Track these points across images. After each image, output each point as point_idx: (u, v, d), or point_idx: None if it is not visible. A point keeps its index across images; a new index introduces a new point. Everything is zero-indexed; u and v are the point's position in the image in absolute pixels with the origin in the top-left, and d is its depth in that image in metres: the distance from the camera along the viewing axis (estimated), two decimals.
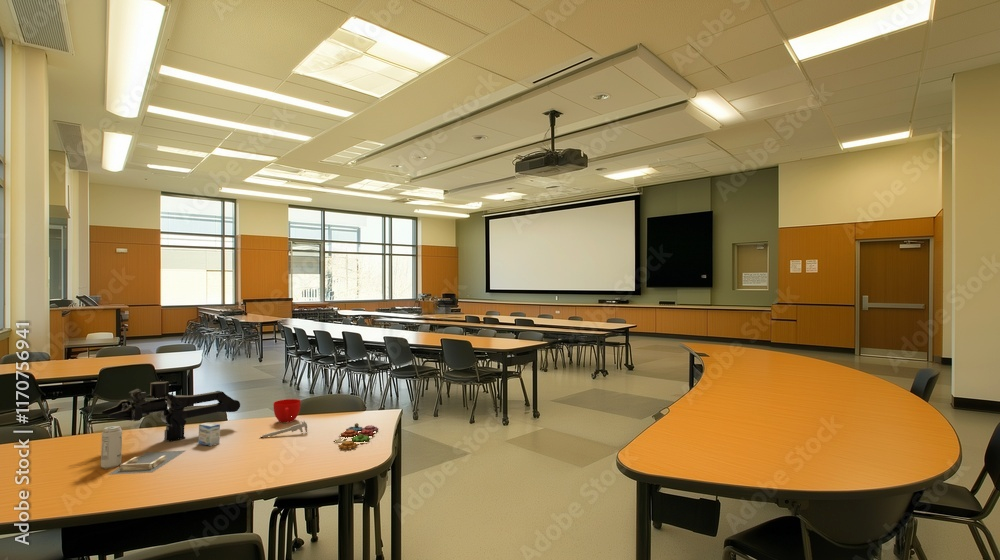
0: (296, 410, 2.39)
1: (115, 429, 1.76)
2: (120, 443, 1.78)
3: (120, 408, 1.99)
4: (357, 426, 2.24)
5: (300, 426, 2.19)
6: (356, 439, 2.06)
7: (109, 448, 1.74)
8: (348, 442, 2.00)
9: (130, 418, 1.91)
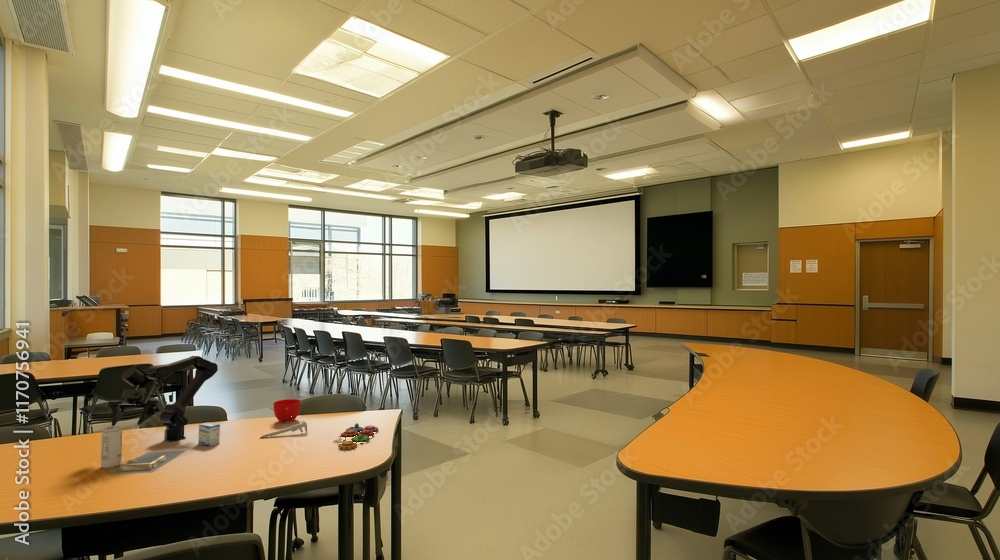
0: (296, 410, 2.39)
1: (115, 429, 1.76)
2: (120, 443, 1.78)
3: (118, 410, 1.89)
4: (357, 426, 2.24)
5: (300, 426, 2.19)
6: (356, 439, 2.06)
7: (109, 448, 1.74)
8: (348, 442, 1.99)
9: (154, 412, 1.92)
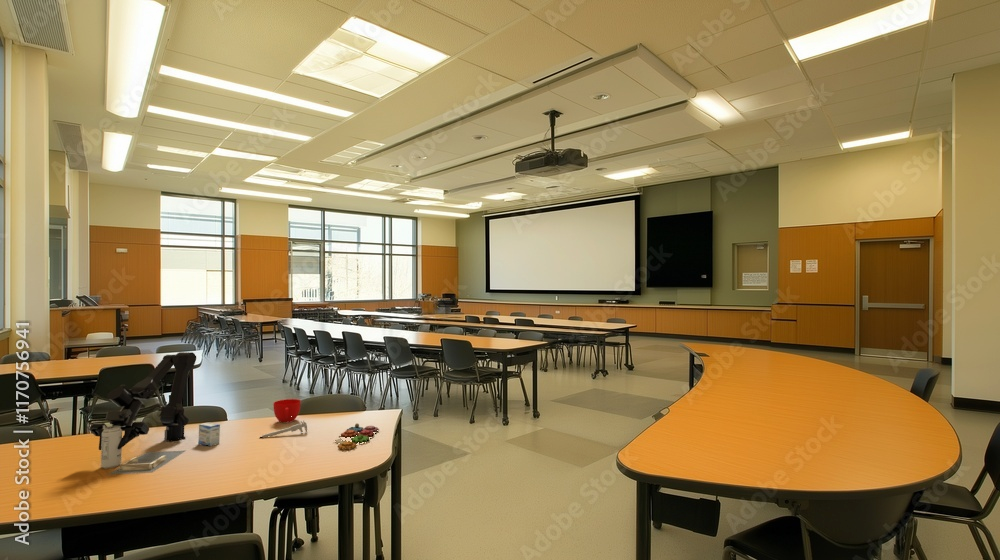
0: (296, 410, 2.39)
1: (115, 429, 1.76)
2: None
3: None
4: (357, 426, 2.24)
5: (300, 426, 2.19)
6: (355, 439, 2.05)
7: (109, 448, 1.74)
8: (347, 442, 1.99)
9: (136, 435, 1.83)
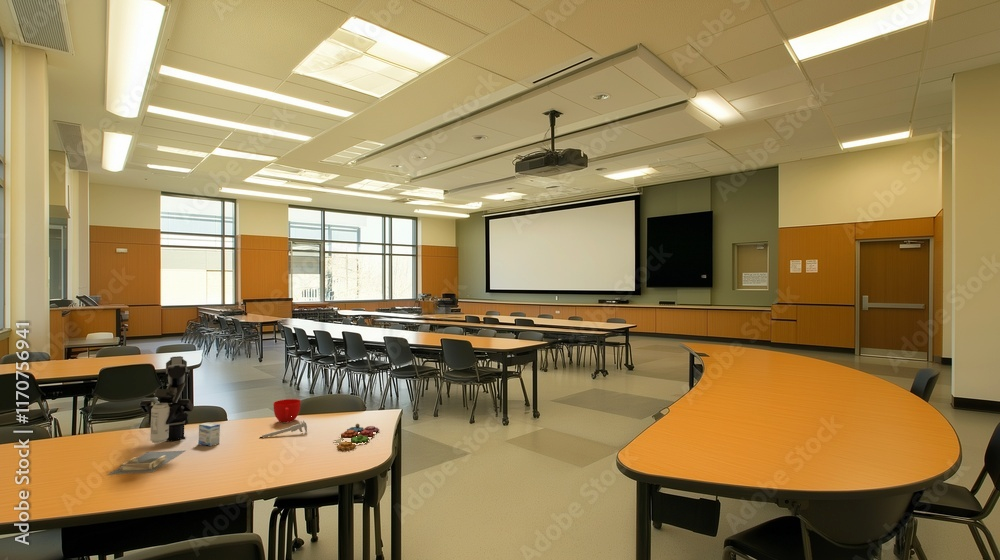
0: (296, 410, 2.39)
1: (164, 406, 1.88)
2: None
3: None
4: (358, 426, 2.23)
5: (300, 426, 2.19)
6: (355, 440, 2.05)
7: (158, 423, 1.86)
8: (346, 443, 1.99)
9: (181, 412, 1.94)
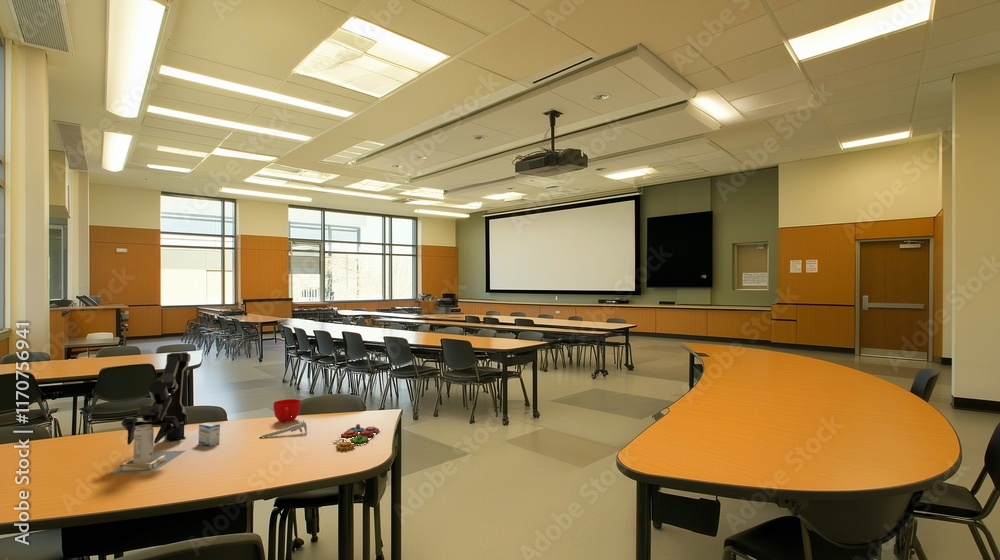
0: (296, 410, 2.39)
1: (147, 428, 1.77)
2: (152, 441, 1.79)
3: (134, 428, 1.80)
4: (358, 427, 2.23)
5: (299, 426, 2.19)
6: (354, 440, 2.04)
7: (141, 446, 1.75)
8: (345, 443, 1.98)
9: (171, 429, 1.84)
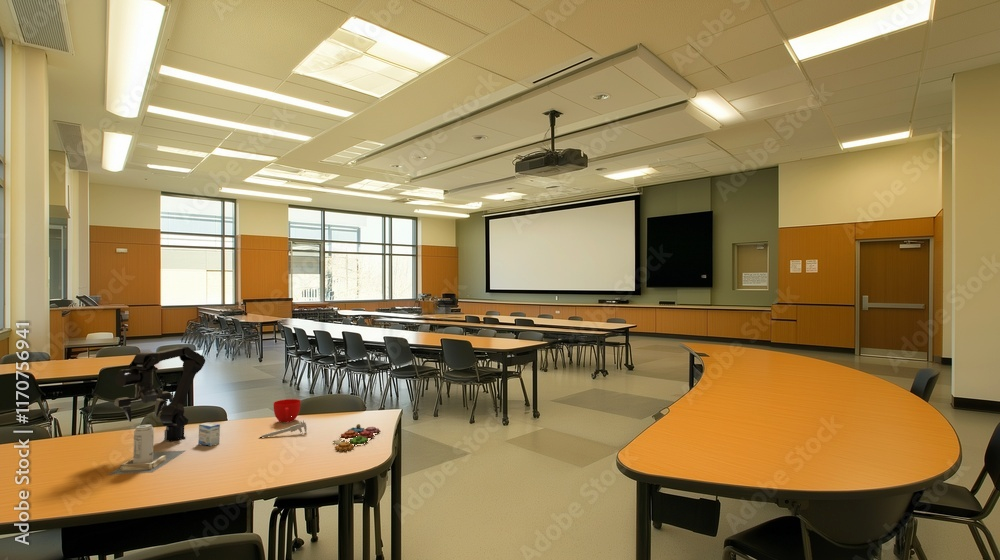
0: (296, 410, 2.39)
1: (147, 428, 1.77)
2: (152, 442, 1.79)
3: None
4: (359, 427, 2.22)
5: (299, 426, 2.19)
6: (354, 441, 2.04)
7: (141, 446, 1.75)
8: (344, 443, 1.98)
9: None
